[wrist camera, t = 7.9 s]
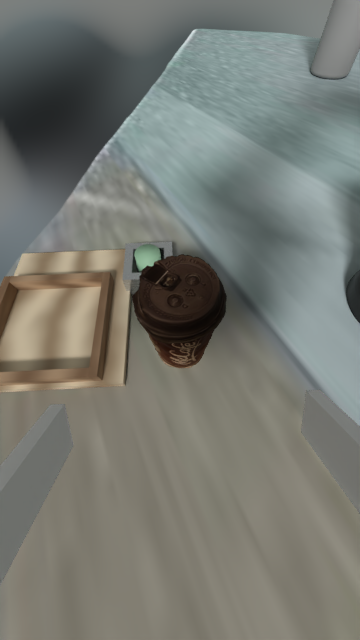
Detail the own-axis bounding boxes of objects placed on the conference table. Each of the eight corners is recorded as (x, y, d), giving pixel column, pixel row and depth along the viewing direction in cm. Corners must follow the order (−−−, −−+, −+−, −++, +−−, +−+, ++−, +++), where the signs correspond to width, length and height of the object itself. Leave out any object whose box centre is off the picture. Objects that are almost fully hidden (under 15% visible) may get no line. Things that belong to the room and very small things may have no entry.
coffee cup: (143, 324, 32) (121, 257, 20) (199, 310, 33) (208, 238, 22) (157, 385, 28) (140, 343, 16) (221, 366, 29) (247, 314, 17)
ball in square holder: (172, 258, 38) (171, 241, 35) (174, 292, 34) (173, 277, 31) (130, 260, 38) (125, 243, 35) (127, 294, 34) (122, 279, 31)
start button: (162, 260, 36) (160, 243, 33) (162, 278, 34) (160, 262, 31) (139, 261, 36) (134, 244, 33) (138, 279, 34) (133, 263, 31)
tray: (133, 253, 38) (130, 239, 36) (125, 385, 28) (119, 379, 25) (26, 258, 38) (14, 244, 36) (-25, 393, 28) (-47, 387, 25)
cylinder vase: (352, 80, 75) (422, -70, 54) (314, 80, 76) (367, -69, 54) (341, 67, 82) (399, -72, 60) (306, 67, 82) (350, -71, 60)
